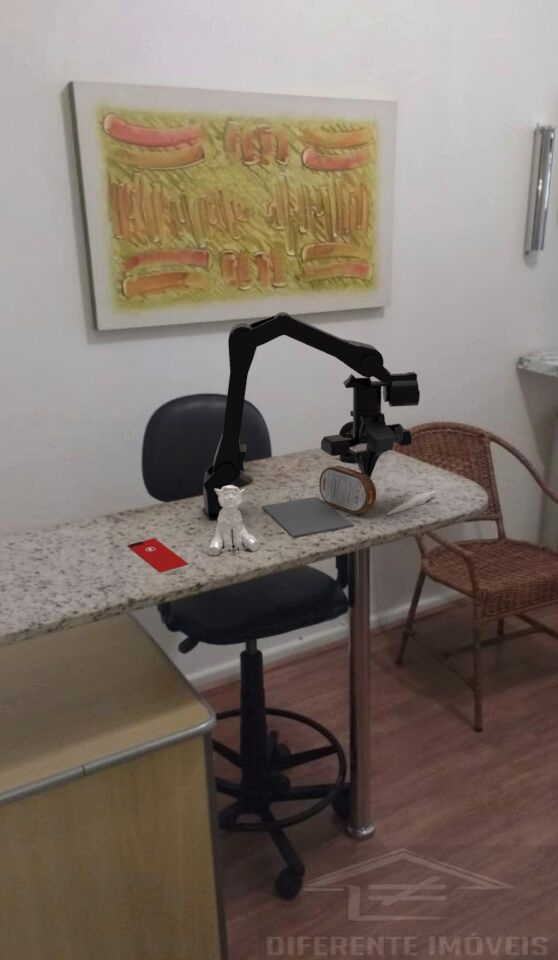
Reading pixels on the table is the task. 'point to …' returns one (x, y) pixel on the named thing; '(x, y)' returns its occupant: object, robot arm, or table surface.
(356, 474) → the tin
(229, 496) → the white creature statuette
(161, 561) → the electronic device
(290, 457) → the table surface
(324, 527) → the mat
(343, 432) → the webcam
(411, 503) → the white tapered figurine
